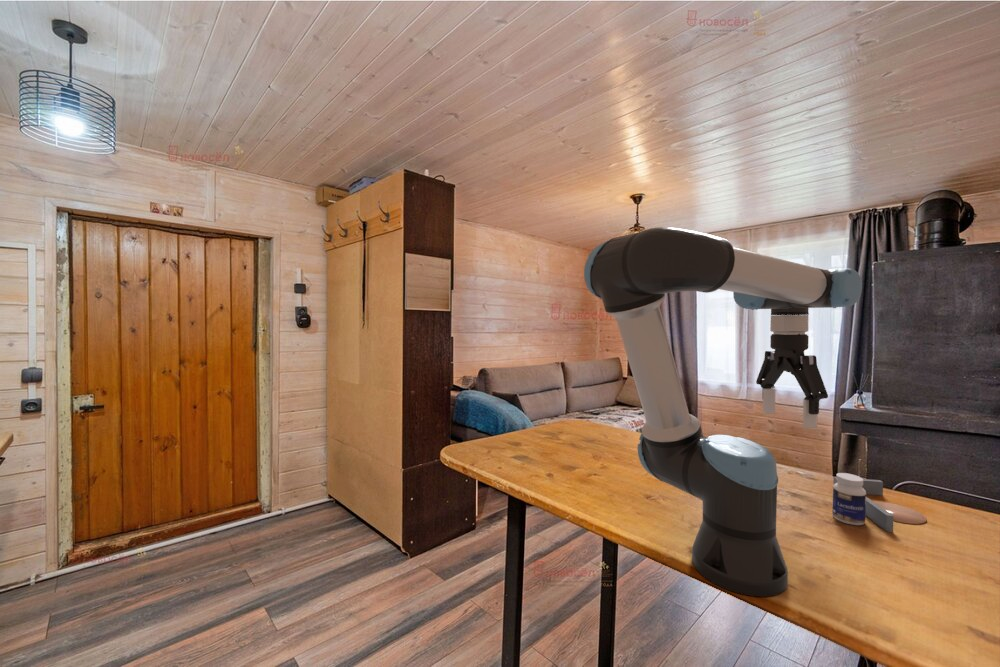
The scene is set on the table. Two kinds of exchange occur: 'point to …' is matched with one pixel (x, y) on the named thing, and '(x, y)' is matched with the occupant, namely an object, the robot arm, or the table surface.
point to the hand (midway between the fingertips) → (788, 420)
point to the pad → (903, 513)
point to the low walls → (872, 508)
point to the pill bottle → (849, 499)
